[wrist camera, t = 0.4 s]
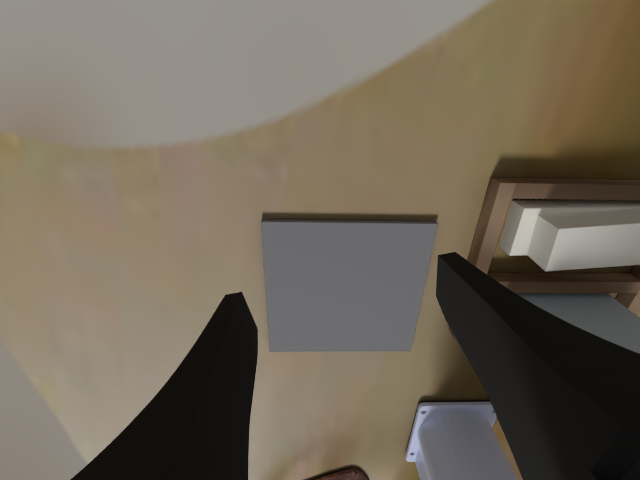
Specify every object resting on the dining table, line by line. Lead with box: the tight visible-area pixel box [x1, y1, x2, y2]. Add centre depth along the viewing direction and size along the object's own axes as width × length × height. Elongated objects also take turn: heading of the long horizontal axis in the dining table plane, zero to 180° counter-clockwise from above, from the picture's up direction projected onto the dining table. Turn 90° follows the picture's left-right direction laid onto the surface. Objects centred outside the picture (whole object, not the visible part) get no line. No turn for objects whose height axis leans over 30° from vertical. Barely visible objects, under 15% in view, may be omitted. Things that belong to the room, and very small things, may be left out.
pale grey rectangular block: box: [516, 293, 640, 354], centre depth 23 cm, size 2×9×8 cm, turn 89°
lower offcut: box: [499, 200, 640, 256], centre depth 23 cm, size 4×10×2 cm, turn 90°
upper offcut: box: [527, 208, 640, 271], centre depth 21 cm, size 3×8×2 cm, turn 94°
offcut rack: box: [449, 177, 640, 339], centre depth 24 cm, size 13×14×1 cm
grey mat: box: [261, 219, 438, 352], centre depth 25 cm, size 12×12×1 cm
